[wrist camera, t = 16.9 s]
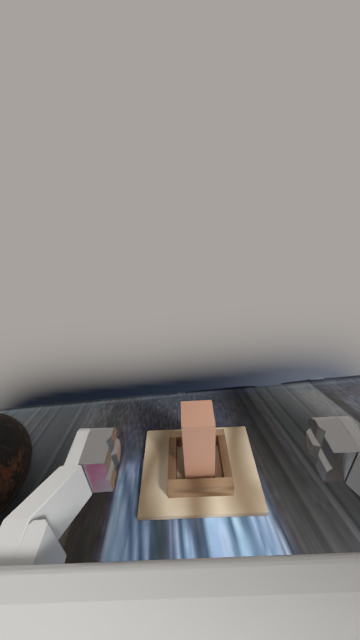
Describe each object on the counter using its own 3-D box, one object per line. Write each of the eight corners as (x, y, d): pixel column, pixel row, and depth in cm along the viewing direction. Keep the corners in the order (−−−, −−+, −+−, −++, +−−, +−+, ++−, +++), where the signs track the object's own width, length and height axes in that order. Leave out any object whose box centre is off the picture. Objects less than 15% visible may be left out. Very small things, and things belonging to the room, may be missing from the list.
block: (211, 452, 44) (211, 399, 38) (214, 479, 40) (215, 425, 34) (184, 453, 44) (180, 401, 38) (185, 480, 40) (181, 427, 34)
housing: (244, 429, 48) (245, 416, 47) (267, 515, 36) (270, 502, 34) (147, 433, 49) (145, 421, 47) (137, 520, 36) (134, 507, 35)
